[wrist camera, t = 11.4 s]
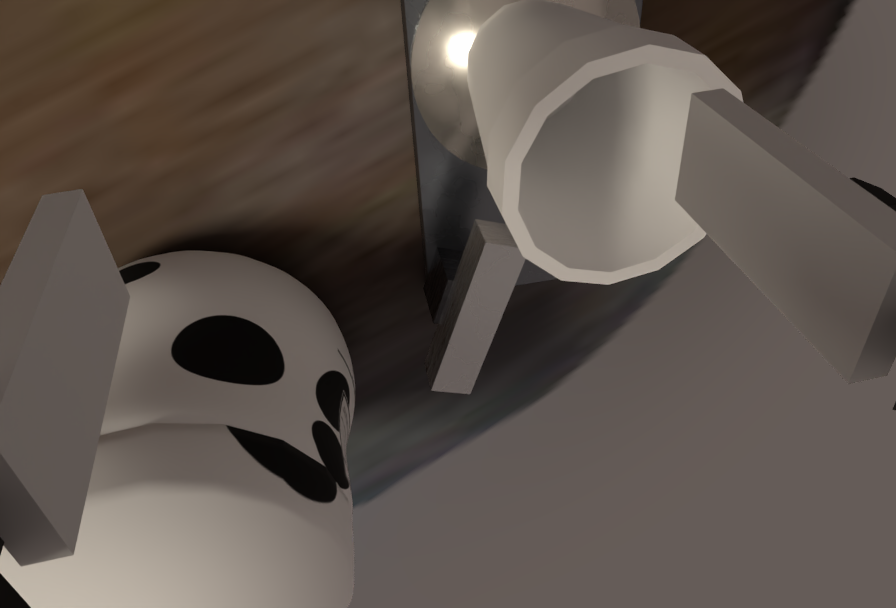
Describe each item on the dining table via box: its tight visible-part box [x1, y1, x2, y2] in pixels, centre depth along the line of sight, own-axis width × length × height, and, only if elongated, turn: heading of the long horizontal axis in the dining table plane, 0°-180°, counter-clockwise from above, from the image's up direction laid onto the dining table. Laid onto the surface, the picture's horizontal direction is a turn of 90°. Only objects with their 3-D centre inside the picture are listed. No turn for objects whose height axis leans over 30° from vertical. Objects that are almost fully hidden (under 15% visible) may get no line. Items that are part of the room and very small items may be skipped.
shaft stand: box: [401, 0, 643, 394], centre depth 34 cm, size 34×13×7 cm, turn 3°
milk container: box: [0, 250, 355, 608], centre depth 38 cm, size 17×17×18 cm
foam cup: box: [467, 0, 743, 285], centre depth 31 cm, size 10×9×13 cm
